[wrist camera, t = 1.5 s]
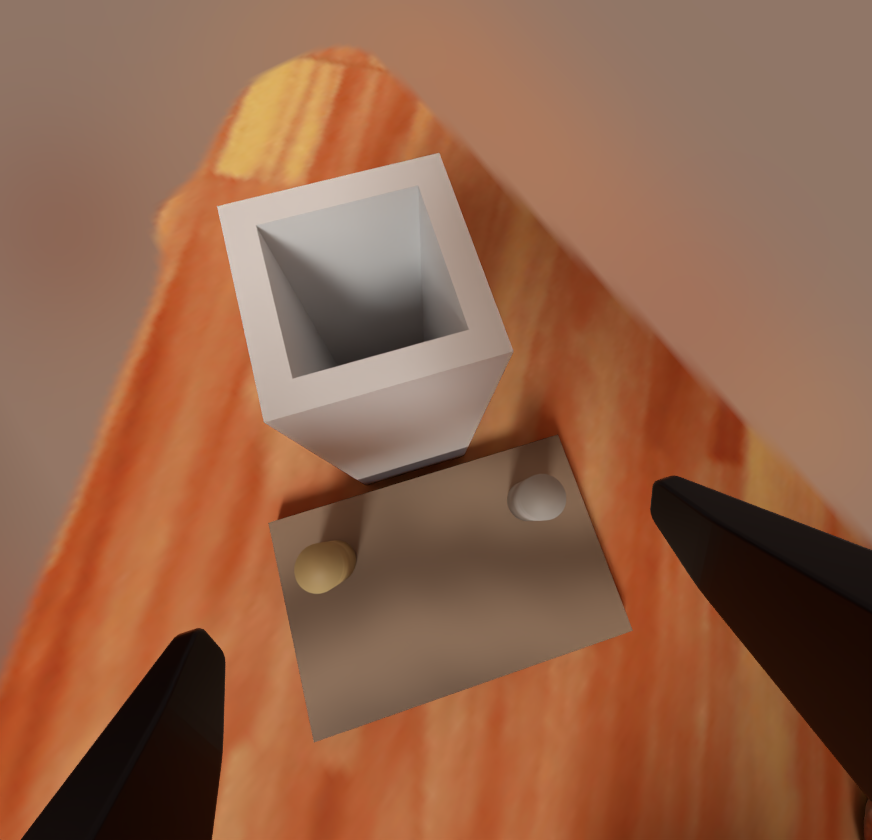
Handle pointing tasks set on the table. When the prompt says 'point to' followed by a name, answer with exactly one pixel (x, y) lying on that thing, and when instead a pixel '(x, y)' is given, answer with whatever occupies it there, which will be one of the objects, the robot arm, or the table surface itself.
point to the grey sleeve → (367, 317)
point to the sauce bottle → (868, 821)
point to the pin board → (442, 585)
